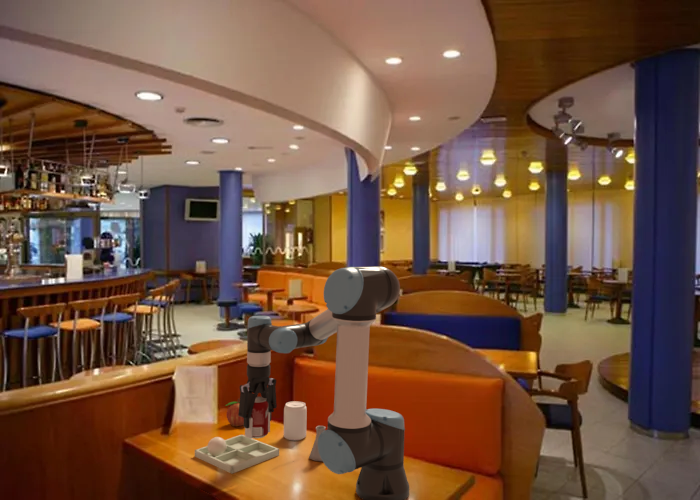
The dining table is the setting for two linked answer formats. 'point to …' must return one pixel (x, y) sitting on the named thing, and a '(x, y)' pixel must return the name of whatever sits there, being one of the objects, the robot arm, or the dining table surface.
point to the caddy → (239, 454)
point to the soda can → (260, 418)
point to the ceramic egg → (216, 446)
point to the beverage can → (295, 420)
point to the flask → (316, 445)
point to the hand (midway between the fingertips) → (257, 434)
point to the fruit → (234, 414)
